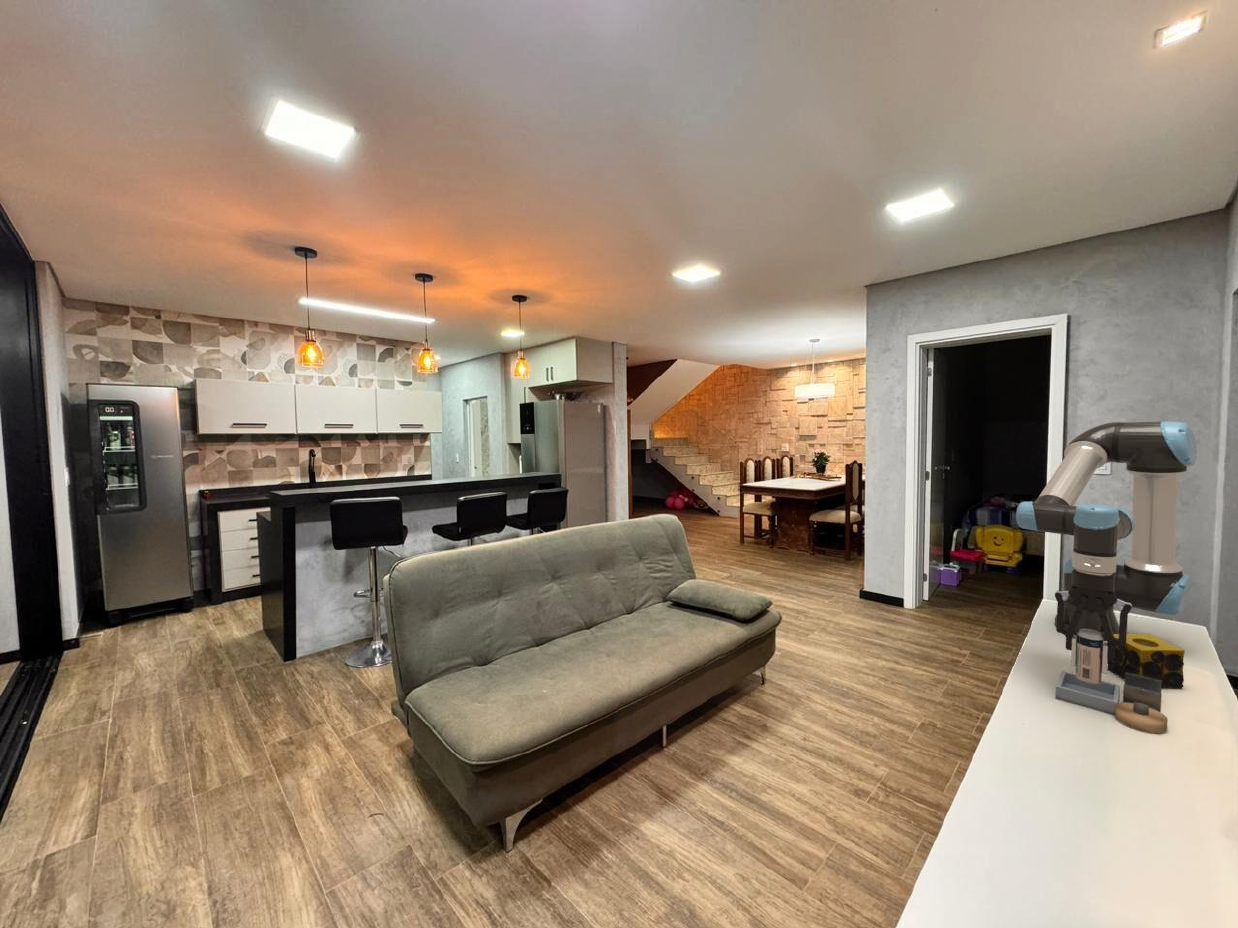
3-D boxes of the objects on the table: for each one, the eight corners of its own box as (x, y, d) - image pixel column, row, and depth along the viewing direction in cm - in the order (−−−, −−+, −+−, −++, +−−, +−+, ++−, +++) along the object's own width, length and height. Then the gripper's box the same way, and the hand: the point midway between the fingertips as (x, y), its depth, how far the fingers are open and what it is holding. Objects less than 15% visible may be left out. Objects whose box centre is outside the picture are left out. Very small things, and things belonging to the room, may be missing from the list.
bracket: (1124, 691, 126) (1125, 671, 125) (1160, 700, 121) (1161, 680, 121) (1122, 706, 119) (1123, 686, 119) (1160, 717, 115) (1161, 695, 114)
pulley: (1116, 708, 119) (1116, 691, 118) (1166, 722, 113) (1167, 704, 113) (1113, 723, 113) (1114, 705, 113) (1167, 738, 107) (1168, 720, 107)
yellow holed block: (1147, 669, 136) (1149, 633, 135) (1185, 689, 126) (1187, 650, 125) (1105, 669, 137) (1106, 632, 136) (1139, 688, 127) (1141, 649, 126)
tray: (1061, 682, 131) (1061, 670, 131) (1119, 697, 123) (1120, 685, 123) (1055, 698, 124) (1055, 686, 123) (1116, 715, 116) (1117, 702, 116)
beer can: (1107, 686, 120) (1110, 636, 119) (1084, 685, 121) (1086, 635, 120) (1091, 676, 125) (1093, 627, 124) (1069, 675, 126) (1071, 627, 125)
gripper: (1042, 567, 125) (1038, 660, 126) (1147, 582, 112) (1141, 686, 114) (1047, 561, 130) (1043, 650, 132) (1148, 575, 117) (1142, 674, 119)
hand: (1088, 667), depth 123 cm, fingers closed on beer can, 5 cm apart
